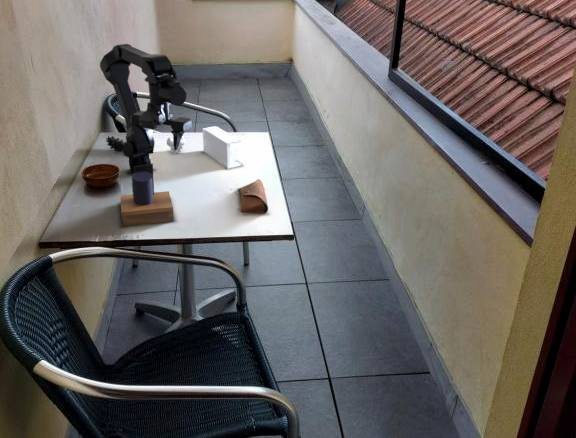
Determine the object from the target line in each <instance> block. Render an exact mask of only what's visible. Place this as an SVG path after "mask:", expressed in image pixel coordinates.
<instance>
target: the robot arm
mask: <svg viewBox="0 0 576 438" xmlns="http://www.w3.org/2000/svg"><path fill="white" fill-rule="evenodd" d="M131 65H134V66H135V67H136V66H137V67H139V68H140V69H141V73H143V75H145V76H146V77H145V78H144V82H146V83H148V84H147V85H148V94H149V102H147V104H146V110H138V107H137V104H136V101H135V99H134V95H133V93H132V90H131V86H130V83H129V79H130V73H131V70H130V66H131ZM99 69H100V71H101V72H102V74H103V76H104V78H105V80H106V81H107V82H108V83H109V84H111V85H112V87H113V90H114V92H115V95H116V99H117V101H118V104H119V107H120V110H121V114H122V115H123V119H124V121H125V124H126V127H127V130H126V134H125V141H127V144H126V145H125V147H124V148H123V151H122V154H123V155H124V157H126V158H128V164H129V170H127V174H131V175H132V174H134V166H140V165H146V164H152V159H151V158H150V155H151V154H154V150H155V142H156V141H155V138H154V135H153V134H154V130H155V129H157V127H158V126H162V125H165V126H169V127H170V129H171V130H170V133H171V135H172V138H173V141H174V150H176V151H177V149H178V146H179V143H180V141H181V140H182V136H183V137H184V134H185V132H186V131H188V130H189V129H192V128H193V121H192V120H191V118H188V117H184V116H178V117H177V118H175V119H172V118H173V116H174V115H173V113H171V107H170V106H171V105H173V106H176V107H179V106H182V105H183V104H185V102H186V101H187V97H188V93H187V91H186V89H185V88H184V87H183V86H182V85H181V82H180V81H179V79H178V76H177V72H176V70H175V69H174V67H173V65H172V62H171V60H170V59H169V57H168V56H167V55H166V54H160V53H156V54H155V53H148V52H145V51H143V50H141V49H138V48H136V47H134V46H132V45H131V44H130V43H122V44H116V45H113V48H112V49H111V50H109V51H108V52H107V53H106V54H104V55H103V57H102V58H101V60H100V62H99Z"/></svg>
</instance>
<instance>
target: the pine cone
mask: <svg viewBox="0 0 576 438" xmlns="http://www.w3.org/2000/svg"><path fill="white" fill-rule="evenodd" d="M105 139H106V140H105V142H107V146H109V147H110V150H112V149H113V150H114V152H118V153H123V148H124V147H125V145H126V144H127V141H126V140H125V141H124V139H120V138H119V137H117V138H115V136H114V135H112V136H111V137H110V136H107V137H105Z"/></svg>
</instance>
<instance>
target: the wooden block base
mask: <svg viewBox="0 0 576 438" xmlns="http://www.w3.org/2000/svg"><path fill="white" fill-rule="evenodd" d="M119 196H120V212H121V220H122V227H130V226H139V225H141V226H142V225H150V224H158V223H169V222H174V221H175V218H174V206H173V202H172V198H171V194H170V191H168V190H167V191H154V195H153V202H152V203H150V204H148V205H139V204H136V203H135V202H134V200H133V194H123V195H122V194H121V195H119Z"/></svg>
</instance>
